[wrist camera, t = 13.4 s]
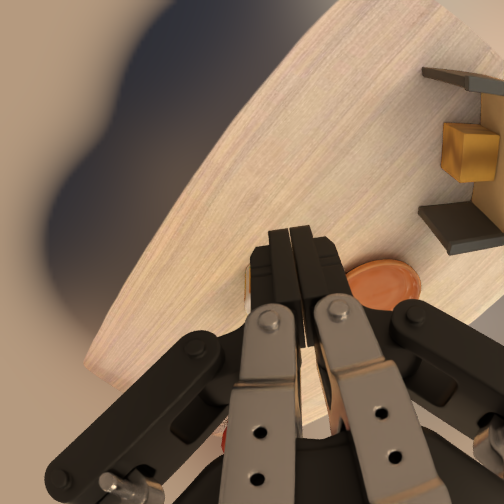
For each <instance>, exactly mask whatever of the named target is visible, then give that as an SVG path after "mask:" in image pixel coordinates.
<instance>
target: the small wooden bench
mask: <svg viewBox="0 0 504 504" xmlns="http://www.w3.org/2000/svg"><path fill="white" fill-rule="evenodd" d="M422 72H423V76H424V77H428V78H432V79H436V80H439V81H443V82H447V83H450V84H454V85H457V86H460V87H464V88H465V90H467V91H471V92H480V93H481V120H480V125H481V126H483V127H485V128H487V129H489V130H491V131H493V132H494V133H496V134H498V135H500V139H499V149H498V157H497V164H496V171H495V178H494V181H481V182H474V188H473V194H472V200H471V202H461V203H451V204H442V205H432V206H423V207H419V211H418V214H419V216H420V217H421V218H422V219H423V220H424V222H425V223H426V224H427V225H428V227H429V228H430V229H431V231H432V232H433V233H434V234H435V236H436V237H437V238H438V240H439V241H440V242H441V244H442V245H443V246H444V248H445V249H446V250H447V253H448V255H449V256H450V255H456V254H461V253H467V252H472V251H477V250H482V249H488V248H493V247H498V246H503V245H504V80H501V79H498V78H494V77H491V76H487V75H482V74H476V73H469V72H462V71H455V70H447V69H437V68H426V67H422Z"/></svg>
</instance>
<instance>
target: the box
mask: <svg viewBox="0 0 504 504" xmlns="http://www.w3.org/2000/svg"><path fill="white" fill-rule="evenodd" d="M499 139H500V135H498V134H496V133H494V132H493V131H491V130H489V129H487V128H485V127H483V126H481V125H479V124H466V123H444V125H443V146H442V161H441V168H442V169H443V170H445V171H446V172H447V173H448V174H450V175H451V176H452V177H453V178H454V179H456V180H457V181H458V182H459V183H464V182H481V181H494V178H495V171H496V164H497V157H498V149H499Z"/></svg>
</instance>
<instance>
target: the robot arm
mask: <svg viewBox="0 0 504 504" xmlns="http://www.w3.org/2000/svg"><path fill="white" fill-rule="evenodd" d="M289 229H290V237H291V242H290V237H289V232H288V228H285V229H279V230H272V231H268V236H269V245H266V246H259V247H255V249H254V251H253V253H252V254H251V256H250V277H251V278H250V295H251V310H250V313H249V315H248V316H247V318H246V320H245V323H244V324H243V325H242V326H241V327H240V328H238V329H236V330H235V331H232V332H230V333H228V334H225V335H223V336H220V337H217V336H216V335H215V334H213V333H211V332H209V331H204V330H199V331H193V332H190V333H188V334H186V335H184V336H183V337H182V338H181V339H179V340H178V341H177V342H176V343H175V344H174V345H173V346H172V347H171V348H170V349H169V350H168V351H167V352H166V353H165V354H164V355H163V356H162V357H161V358H160V359H159V360H158V361H157V362H156V363H155V364H154V365H153V366H152V367H151V368H150V369H148V370H147V371H146V372H145V373H144V374H143V375H142V376H141V377H140V378H139V379H138V380H137V381H136V382H135V383H134V384H133V385H132V386H131V387H130V388H129V389H128V390H127V391H126V392H125V393H124V394H123V395H121V397H119V398H118V399H117V400H116V401H115V402H114V403H113V404H112V405H111V406H110V407H109V408H108V409H107V410H106V411H105V412H104V413H103V414H102V415H101V416H100V417H98V418H97V419H96V420H95V421H94V422H93V423H92V424H91V425H90V426H89V427H88V428H87V429H86V430H85V431H84V432H83V433H82V434H81V435H80V436H78V437H77V438H76V439H75V441H73V442H72V443H71V444H70V445H69V446H68V447H67V448H66V449H65V450H64V451H63V452H61V454H59V455H58V456H57V457H56V458H55V459H54V460H53V461H52V462H51V463H50V464H49V466H48V467H47V469H46V472H45V479H44V480H45V486H46V489H47V491H48V493H49V494H50V496H51V497H52V498H53V499H55V500H56V501H58V502H61V503H64V504H164V501H165V494H164V490H163V488H162V485H163V484H164V483H165V482H166V481H167V480H168V479H169V478H170V477H171V476H172V475H173V474H174V473H175V472H176V471H177V470H178V469H179V468H180V467H181V466H182V465H183V464H184V463H185V461H186V460H187V459H188V458H189V457H190V456H191V455H192V454H193V453H194V452H195V451H196V450H197V449H198V448H199V447H200V446H201V445H202V444H203V443H204V441H205V440H206V439H207V438H208V437H209V436H210V435H211V434H212V433H213V432H214V430H215V429H216V428H217V427H218V426H219V425H220V424H221V423H222V422H223V420H224V419H225V418H226V417H227V416H228V423H227V432H226V441H225V450H224V454H223V455H221V456H219V457H218V458H216V459H215V460H213V461H212V462H211V463H210V464H209V465H207V466H206V467H205V468H204V469H203V470H202V472H201V473H200V474H199V475H198V476H197V477H196V478H195V479H194V481H193V482H192V483H191V484H190V485H189V486H188V487H187V488H186V490H185V491H184V492H183V493H182V494H181V495H180V496H179V497H178V498H177V499H176V500H175V501H174V502H173V503H172V504H504V346H503V345H501V344H499V343H497V342H496V341H494V340H492V339H491V338H489V337H487V336H485V335H484V334H482V333H480V332H478V331H476V330H475V329H473V328H471V327H469V326H468V325H466V324H464V323H463V322H461V321H459V320H457V319H455V318H454V317H452V316H450V315H448V314H446V313H445V312H443V311H441V310H439V309H437V308H436V307H434V306H432V305H430V304H428V303H426V302H424V301H422V300H418V299H407V300H403V301H401V302H399V303H398V304H397V305H396V306H395V307H394V308H393V311H388V310H376V309H371V308H368V307H365V306H363V305H362V304H361V303H360V302H359V301H358V300H357V299H356V298H354V296H353V294H352V292H351V289H350V286H349V283H348V280H347V277H346V274H345V272H344V269H343V266H342V264H341V260H340V258H339V256H338V252H337V250H336V247H335V244H334V243H333V242H332V241H330V240H329V239H328V238H327V237H326V236H324V237H318V238H313V235H312V232H311V229H310V226H309V225H305V226H298V227H291V228H289ZM291 245H292V247H291ZM303 321H304V324H303ZM304 327H305V334H306V340H307V346H308V347H311V346H314V347H315V353H316V366H317V370H318V374H319V378H320V382H321V386H322V390H323V394H324V398H325V402H326V406H327V411H328V415H329V422H330V430H331V435H332V436H330V437H328V438H325V439H320V440H319V439H307V438H303V434H302V404H301V370H300V367H301V364H302V359H301V350H300V348H305V347H306V346H305V335H304ZM411 400H412V401H414V402H416V403H417V404H418V405H420V406H422V407H423V408H424V409H426V410H427V411H429V412H431V413H432V414H433V415H435V416H437V417H438V418H440V419H441V420H443V421H444V422H446V423H447V424H449V425H451V426H452V427H454V428H455V429H457V430H458V431H460V432H461V433H463V434H464V435H466V436H468V437H469V438H471V439H472V440H474V442H473V454H474V457H475V458H476V459H477V460H478V461H479V462H480V463H482V464H483V465H481V464H480V463H479V462H477V461H476V460H474V459H473V458H471V457H470V456H468V455H467V454H466V453H464V452H463V451H461V450H460V449H458V448H457V447H456V446H454V445H453V444H451V443H450V442H449V441H447V440H446V439H444V438H443V437H442V436H440V435H439V434H437V433H436V432H434V431H432V430H430V429H428V428H426V427H423V426H421V425H420V423H419V420H418V417H417V414H416V412H415V409H414V407H413V404H412V401H411Z"/></svg>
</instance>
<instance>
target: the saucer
mask: <svg viewBox="0 0 504 504" xmlns="http://www.w3.org/2000/svg"><path fill="white" fill-rule="evenodd" d="M346 277H347V280H348V283H349V286H350V289H351V292H352V294H353V296H354V298H356V299H357V300H358V301H359V302H360V303H361V304H362V305H363V306H365V307H368V308H371V309H376V310H388V311H393V308H394V307H395V306H396V305H397V304H398V303H399V302H401V301H403V300H407V299H419V296H420V293H421V281H420V278H419V276H418V274H417V273H416V272H415V270H414V269H413V268H412V267H411V266H409V265H408V264H406V263H404V262H401V261H398V260H391V259H385V260H376V261H372V262H368V263H365V264H363V265H360V266H358V267H357V268H355V269H353V270H352V271H350V272H349V273H347V274H346Z"/></svg>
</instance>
